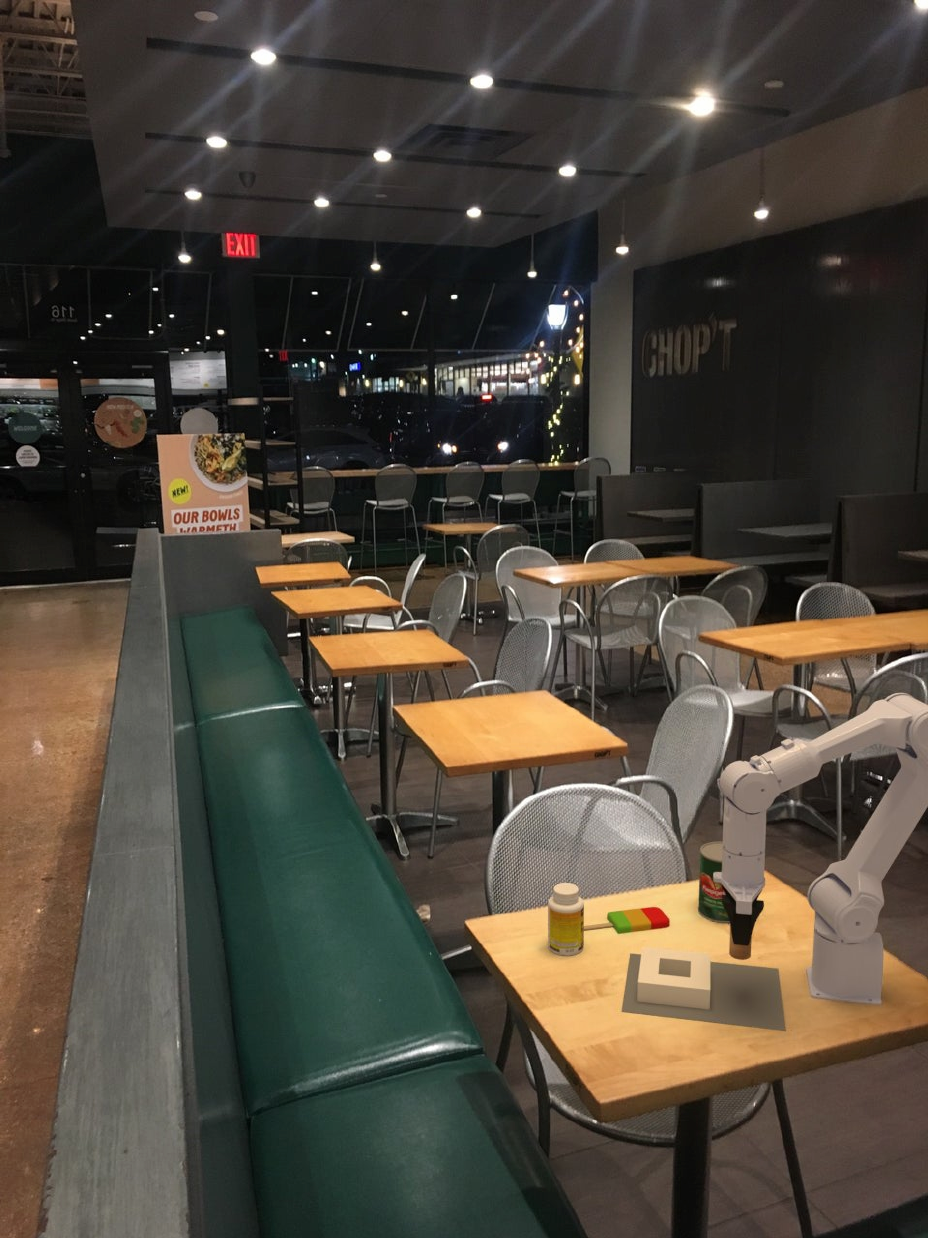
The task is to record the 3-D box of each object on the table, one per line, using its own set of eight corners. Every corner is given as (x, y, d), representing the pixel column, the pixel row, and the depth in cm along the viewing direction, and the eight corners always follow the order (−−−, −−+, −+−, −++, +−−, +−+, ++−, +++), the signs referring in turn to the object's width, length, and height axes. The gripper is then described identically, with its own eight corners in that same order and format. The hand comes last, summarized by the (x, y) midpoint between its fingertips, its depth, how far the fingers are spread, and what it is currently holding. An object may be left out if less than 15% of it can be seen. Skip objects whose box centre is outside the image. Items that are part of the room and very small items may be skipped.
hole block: (709, 972, 151) (710, 953, 150) (709, 1009, 141) (710, 990, 141) (641, 965, 153) (642, 946, 153) (637, 1001, 144) (637, 982, 143)
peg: (750, 950, 145) (752, 892, 143) (751, 961, 142) (753, 901, 140) (729, 948, 146) (730, 890, 144) (729, 958, 143) (731, 899, 141)
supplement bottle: (587, 956, 156) (587, 895, 154) (551, 959, 156) (551, 897, 154) (580, 938, 162) (580, 879, 160) (545, 940, 161) (545, 881, 159)
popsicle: (672, 931, 165) (672, 920, 164) (584, 942, 162) (584, 931, 161) (659, 915, 170) (659, 905, 169) (573, 926, 167) (573, 915, 166)
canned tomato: (701, 923, 166) (703, 860, 164) (695, 900, 174) (696, 840, 172) (750, 924, 165) (753, 861, 163) (742, 902, 173) (744, 841, 171)
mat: (778, 970, 151) (778, 968, 151) (785, 1033, 136) (785, 1031, 136) (630, 955, 157) (630, 953, 157) (621, 1013, 141) (621, 1011, 141)
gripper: (714, 825, 149) (711, 910, 151) (714, 867, 135) (711, 961, 137) (763, 829, 147) (760, 915, 150) (769, 872, 133) (765, 966, 136)
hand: (740, 937), depth 143 cm, fingers closed on peg, 3 cm apart
